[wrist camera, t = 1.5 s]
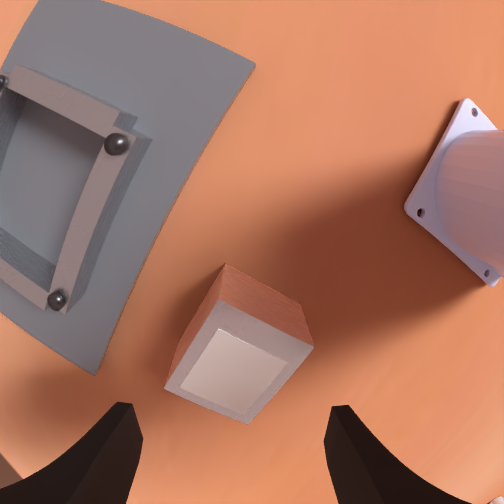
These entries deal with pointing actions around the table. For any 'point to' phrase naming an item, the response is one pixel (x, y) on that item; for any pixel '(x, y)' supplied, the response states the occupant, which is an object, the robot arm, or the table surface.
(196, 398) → the small brown box
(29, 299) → the tray
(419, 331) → the table surface
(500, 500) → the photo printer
